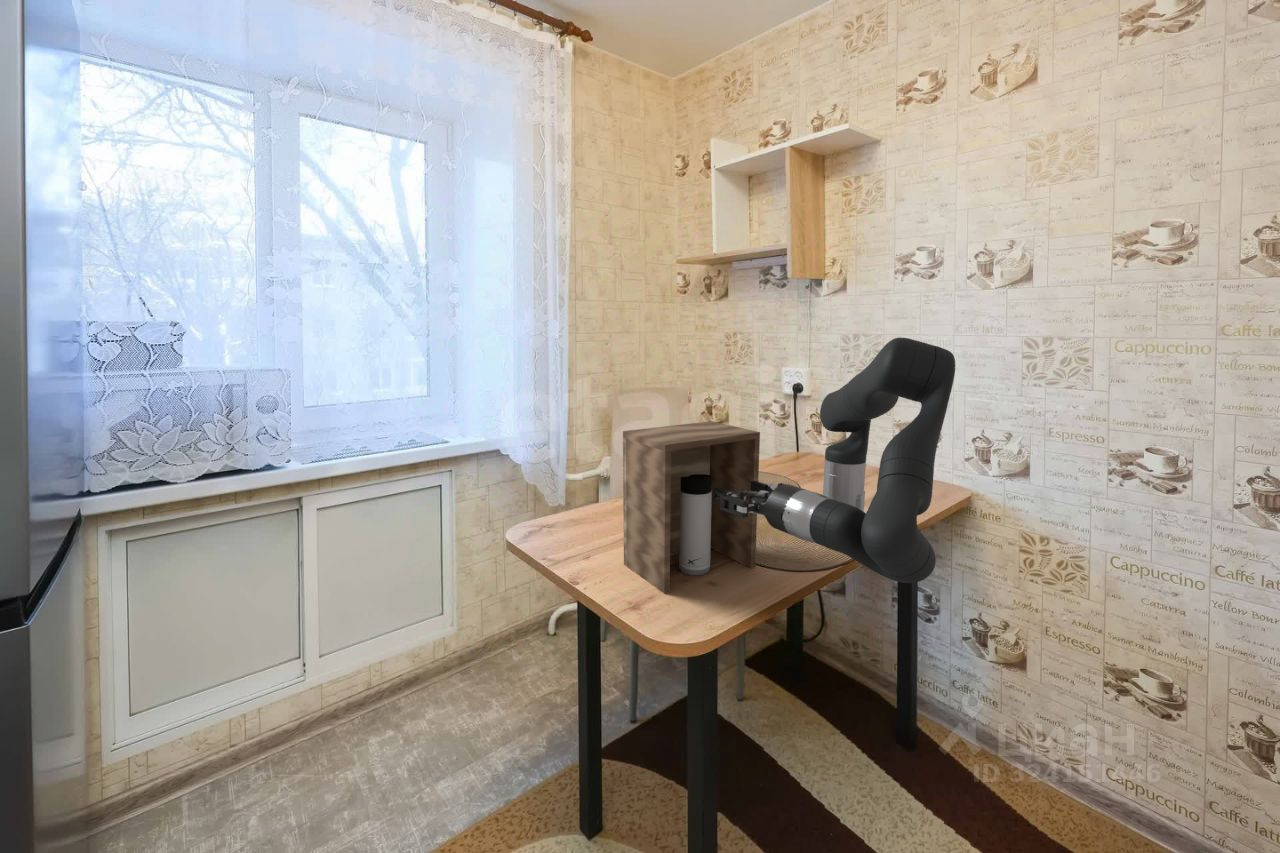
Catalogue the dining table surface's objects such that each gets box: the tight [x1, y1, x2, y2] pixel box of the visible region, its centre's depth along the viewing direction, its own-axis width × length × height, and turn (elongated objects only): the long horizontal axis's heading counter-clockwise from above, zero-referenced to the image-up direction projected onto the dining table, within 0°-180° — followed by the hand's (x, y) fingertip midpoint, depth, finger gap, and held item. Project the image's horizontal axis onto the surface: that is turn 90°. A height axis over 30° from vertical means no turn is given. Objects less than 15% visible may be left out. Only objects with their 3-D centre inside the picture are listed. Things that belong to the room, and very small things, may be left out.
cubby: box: [622, 420, 761, 594], centre depth 114 cm, size 15×22×28 cm
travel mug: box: [678, 474, 712, 576], centre depth 113 cm, size 6×7×20 cm
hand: (734, 489), depth 101 cm, fingers open, 8 cm apart
